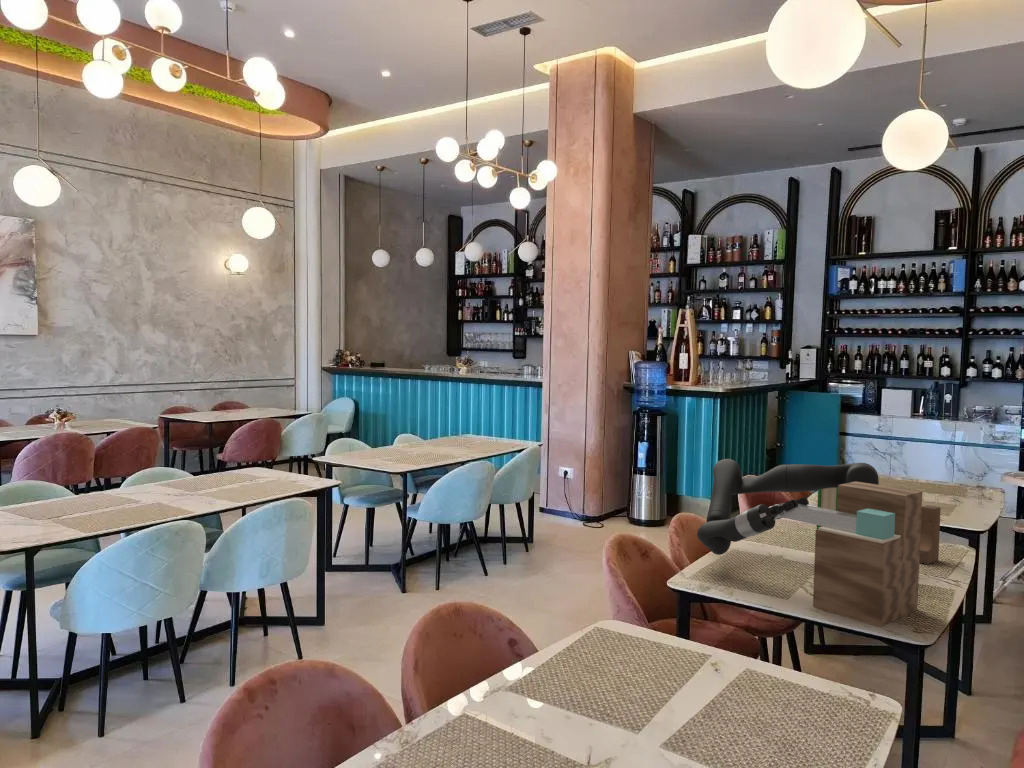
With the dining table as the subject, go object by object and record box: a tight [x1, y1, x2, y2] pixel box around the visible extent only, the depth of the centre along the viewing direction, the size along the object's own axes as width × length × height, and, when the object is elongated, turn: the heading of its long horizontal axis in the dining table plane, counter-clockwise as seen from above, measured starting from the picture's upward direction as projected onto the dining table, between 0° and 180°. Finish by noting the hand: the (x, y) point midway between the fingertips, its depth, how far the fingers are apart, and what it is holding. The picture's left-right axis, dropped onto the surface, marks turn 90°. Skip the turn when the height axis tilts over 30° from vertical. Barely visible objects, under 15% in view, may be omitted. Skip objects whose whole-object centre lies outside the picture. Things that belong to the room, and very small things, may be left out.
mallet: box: [781, 502, 895, 540], centre depth 199 cm, size 6×29×6 cm, turn 38°
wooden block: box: [919, 504, 941, 565], centre depth 244 cm, size 9×4×18 cm, turn 128°
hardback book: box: [816, 488, 838, 530], centre depth 273 cm, size 18×7×24 cm, turn 138°
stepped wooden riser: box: [812, 481, 923, 628], centre depth 198 cm, size 21×18×32 cm
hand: (801, 501), depth 207 cm, fingers open, 5 cm apart
